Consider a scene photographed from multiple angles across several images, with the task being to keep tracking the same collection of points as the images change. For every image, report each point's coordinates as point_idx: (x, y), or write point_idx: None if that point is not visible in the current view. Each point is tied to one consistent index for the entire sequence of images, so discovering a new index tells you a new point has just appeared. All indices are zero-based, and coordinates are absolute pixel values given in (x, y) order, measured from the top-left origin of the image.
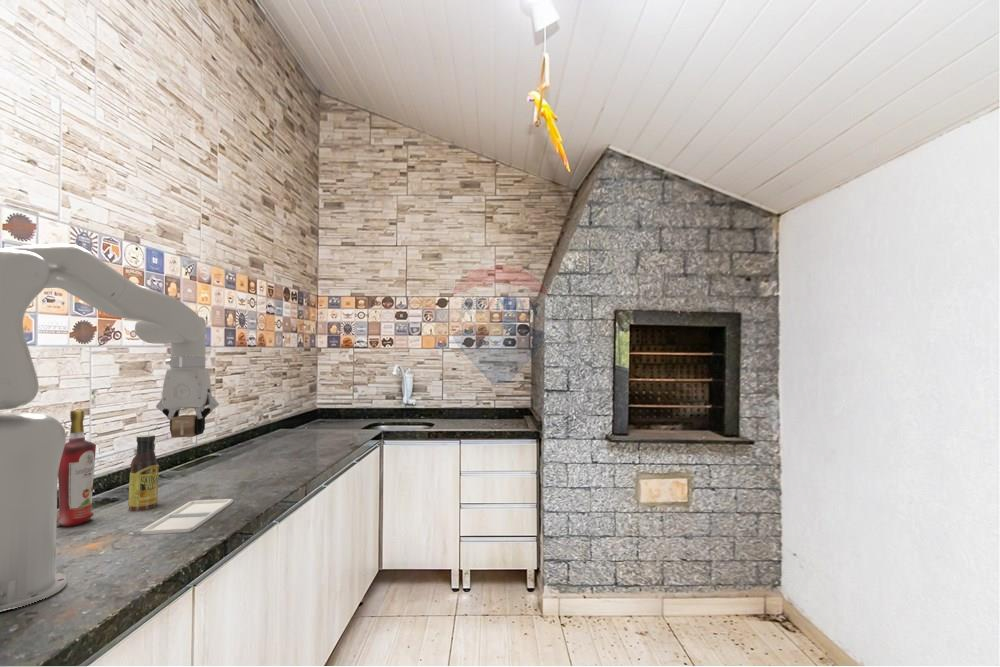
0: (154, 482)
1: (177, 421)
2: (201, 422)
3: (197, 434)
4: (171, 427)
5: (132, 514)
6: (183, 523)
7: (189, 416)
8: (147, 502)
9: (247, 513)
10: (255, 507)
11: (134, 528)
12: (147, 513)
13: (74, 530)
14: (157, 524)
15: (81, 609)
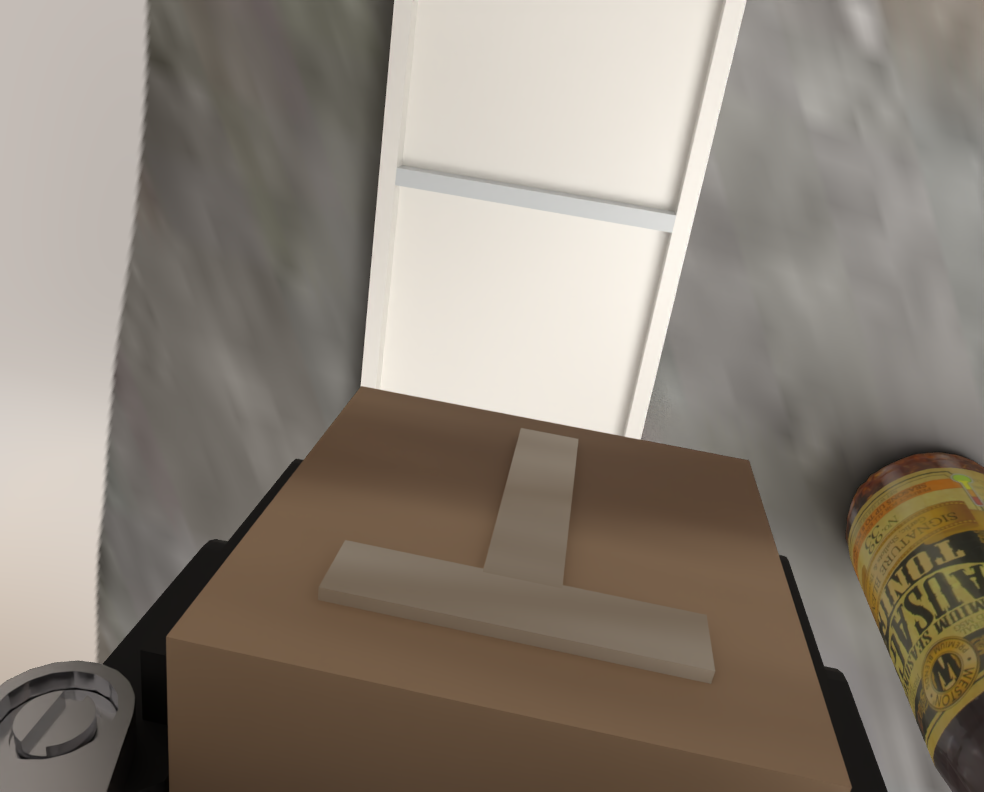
0: (904, 603)
1: (645, 631)
2: (138, 639)
3: (298, 459)
4: (810, 655)
5: (966, 451)
6: (535, 42)
7: None
8: (898, 490)
9: (212, 213)
10: (207, 327)
11: (869, 122)
12: (871, 438)
13: None
14: (709, 61)
15: None
